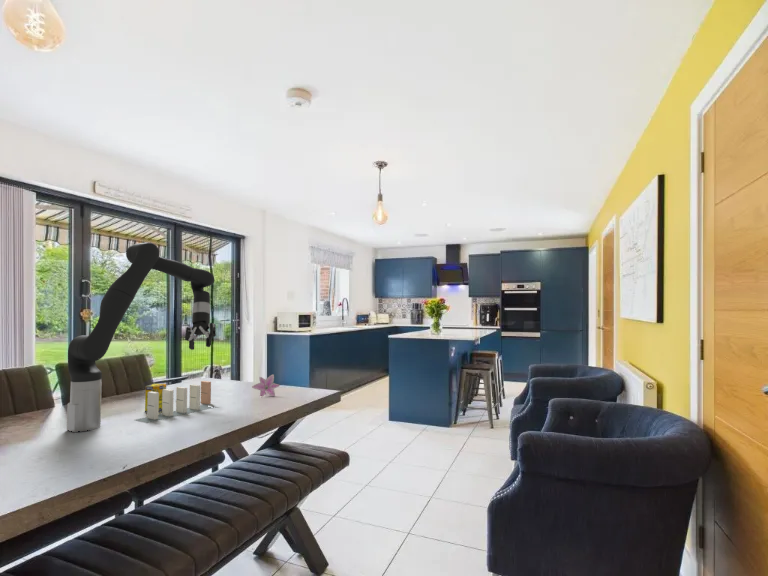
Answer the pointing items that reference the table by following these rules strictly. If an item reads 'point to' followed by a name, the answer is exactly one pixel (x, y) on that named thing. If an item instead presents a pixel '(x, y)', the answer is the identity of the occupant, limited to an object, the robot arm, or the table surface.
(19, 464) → the table surface
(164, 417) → the domino mat
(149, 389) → the supplement box
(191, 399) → the tile
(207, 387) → the tile
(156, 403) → the end tile
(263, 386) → the lily
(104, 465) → the table surface
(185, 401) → the tile
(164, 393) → the tile
